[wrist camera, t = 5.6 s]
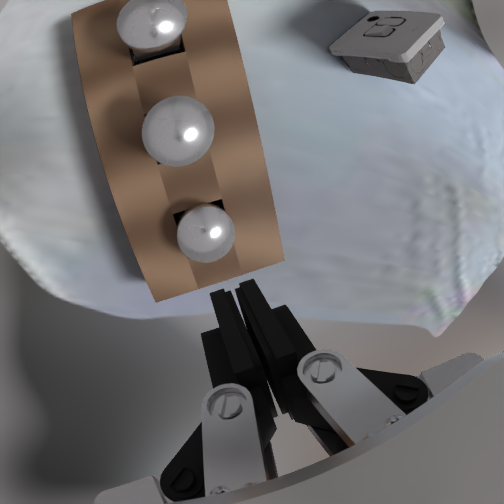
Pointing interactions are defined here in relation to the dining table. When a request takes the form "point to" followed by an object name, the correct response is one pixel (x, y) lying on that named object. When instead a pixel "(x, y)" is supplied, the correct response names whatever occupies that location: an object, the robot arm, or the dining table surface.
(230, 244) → the knob far
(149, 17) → the knob near
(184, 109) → the knob mid
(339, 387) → the robot arm
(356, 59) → the electrical switch
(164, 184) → the knob mount
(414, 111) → the dining table surface
